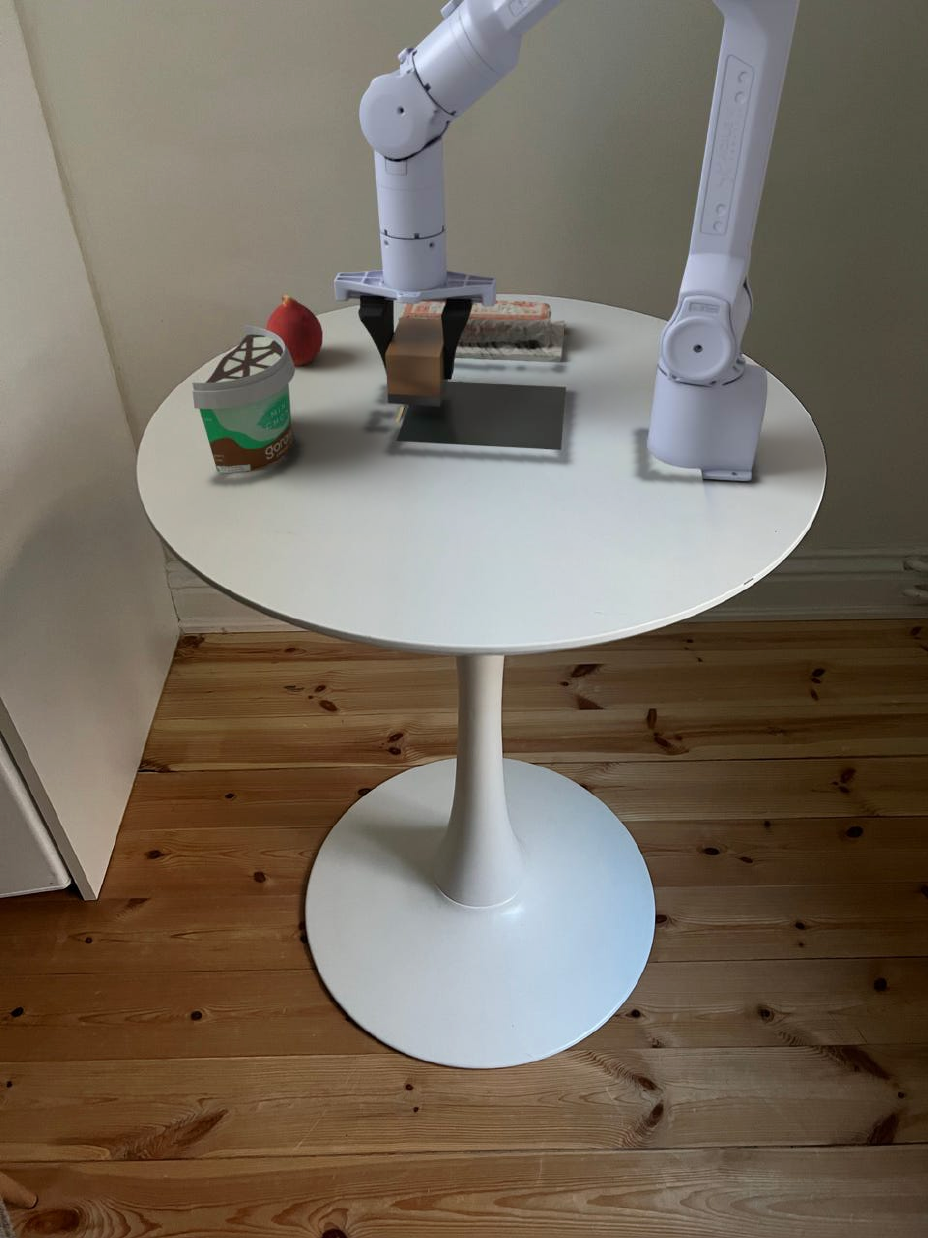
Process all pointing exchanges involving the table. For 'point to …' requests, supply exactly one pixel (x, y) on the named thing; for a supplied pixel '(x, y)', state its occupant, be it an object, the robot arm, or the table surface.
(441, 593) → the table surface
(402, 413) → the chalk mark
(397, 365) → the eraser
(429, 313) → the packaged product
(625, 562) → the table surface
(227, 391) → the food container
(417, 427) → the slate board
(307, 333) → the onion
